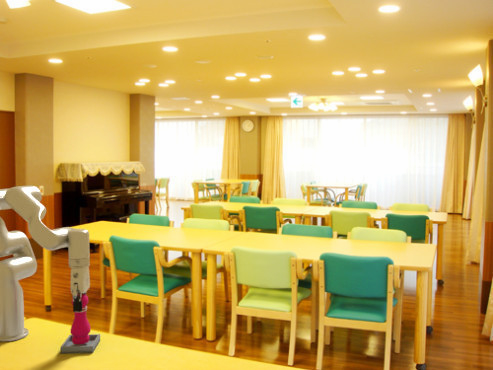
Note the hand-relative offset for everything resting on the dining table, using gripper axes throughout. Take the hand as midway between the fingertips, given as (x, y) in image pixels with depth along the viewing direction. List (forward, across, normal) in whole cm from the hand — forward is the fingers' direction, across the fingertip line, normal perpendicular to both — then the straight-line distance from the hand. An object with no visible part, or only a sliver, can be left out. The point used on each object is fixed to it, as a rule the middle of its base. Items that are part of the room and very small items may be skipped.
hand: (80, 308), depth 180 cm
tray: (+15, 0, 0) cm, 15 cm away
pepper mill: (+13, 0, 0) cm, 13 cm away
